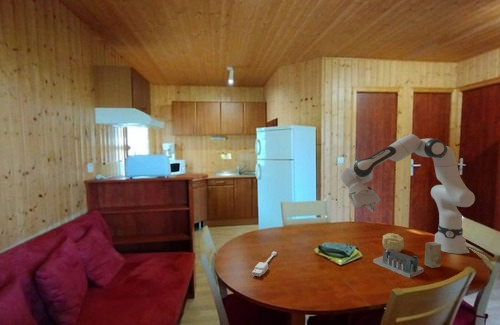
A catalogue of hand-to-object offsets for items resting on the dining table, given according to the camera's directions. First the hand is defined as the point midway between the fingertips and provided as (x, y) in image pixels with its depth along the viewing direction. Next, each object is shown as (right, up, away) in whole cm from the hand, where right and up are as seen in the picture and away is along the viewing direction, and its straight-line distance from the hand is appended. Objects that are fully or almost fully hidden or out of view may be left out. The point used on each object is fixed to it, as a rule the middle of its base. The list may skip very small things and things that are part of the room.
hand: (373, 211), depth 152 cm
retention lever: (+5, -21, -7) cm, 23 cm away
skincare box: (+27, -28, -10) cm, 40 cm away
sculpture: (+17, -26, +11) cm, 33 cm away
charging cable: (-61, -29, -5) cm, 68 cm away
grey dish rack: (+8, -28, -11) cm, 31 cm away
